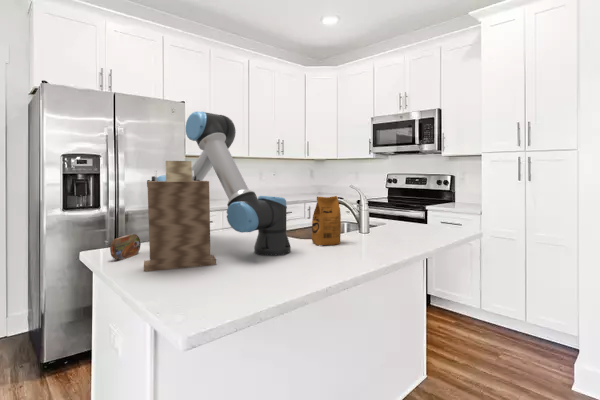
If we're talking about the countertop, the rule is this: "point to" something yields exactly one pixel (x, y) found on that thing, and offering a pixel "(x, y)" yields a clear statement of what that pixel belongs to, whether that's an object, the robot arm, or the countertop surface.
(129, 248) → the tin
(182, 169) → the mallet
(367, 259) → the countertop surface
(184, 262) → the stand
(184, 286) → the countertop surface
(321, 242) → the coffee package
